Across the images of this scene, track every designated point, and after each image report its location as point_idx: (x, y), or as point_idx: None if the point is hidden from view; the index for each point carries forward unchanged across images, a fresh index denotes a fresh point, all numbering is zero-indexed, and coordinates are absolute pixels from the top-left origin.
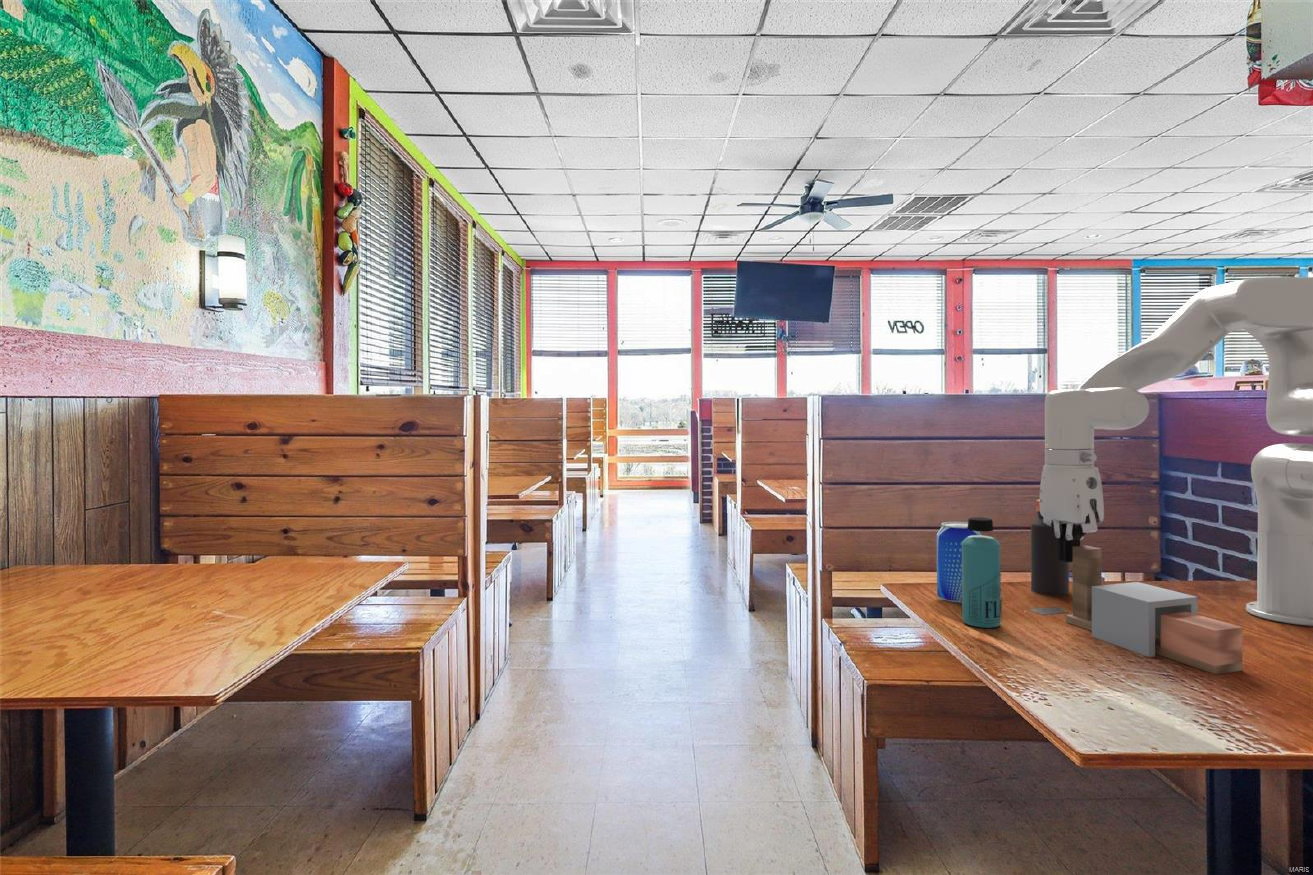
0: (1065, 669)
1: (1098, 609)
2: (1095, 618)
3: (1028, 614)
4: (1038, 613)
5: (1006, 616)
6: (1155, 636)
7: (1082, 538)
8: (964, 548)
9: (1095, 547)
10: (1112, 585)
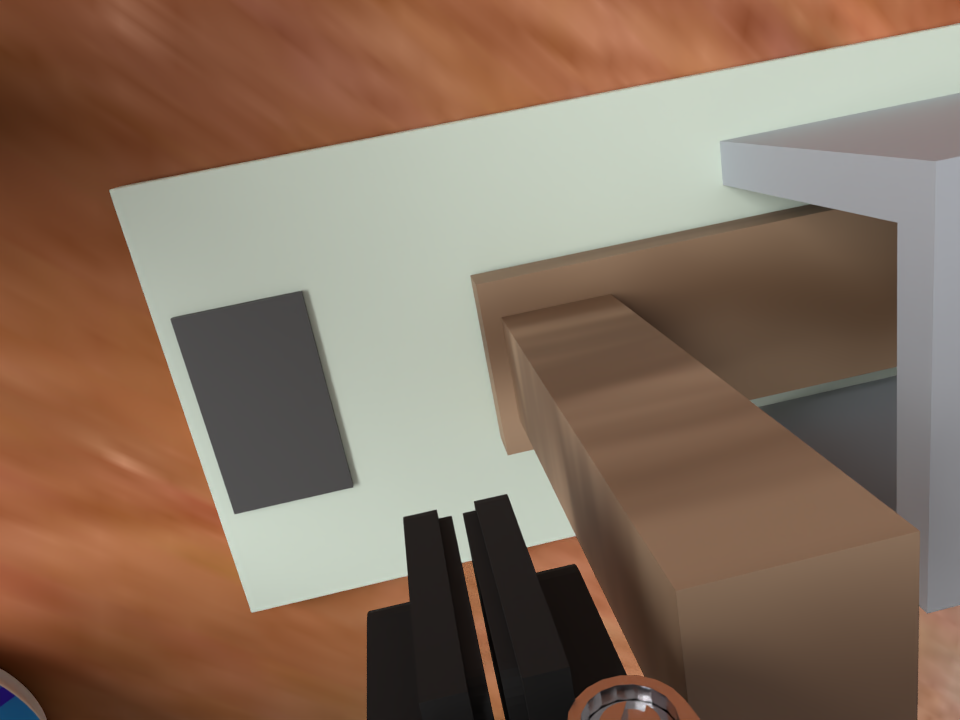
0: (943, 688)
1: None
2: None
3: (198, 473)
4: (316, 494)
5: (237, 605)
6: None
7: (671, 700)
8: None
9: (834, 561)
10: (958, 457)
